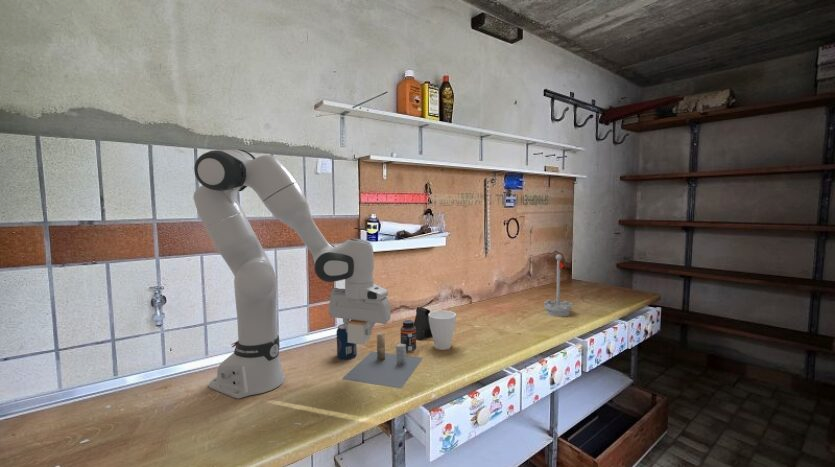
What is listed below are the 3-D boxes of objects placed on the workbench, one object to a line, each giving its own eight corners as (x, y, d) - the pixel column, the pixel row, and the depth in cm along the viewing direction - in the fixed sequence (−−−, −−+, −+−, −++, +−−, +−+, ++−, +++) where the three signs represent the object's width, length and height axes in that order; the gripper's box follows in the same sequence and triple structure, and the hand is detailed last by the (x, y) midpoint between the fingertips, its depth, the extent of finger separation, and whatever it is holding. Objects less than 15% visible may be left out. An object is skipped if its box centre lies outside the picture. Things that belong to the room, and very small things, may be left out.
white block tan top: (347, 342, 110) (347, 321, 110) (355, 336, 115) (355, 316, 115) (362, 344, 109) (362, 323, 108) (369, 338, 114) (370, 318, 113)
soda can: (335, 356, 130) (334, 324, 129) (354, 353, 132) (353, 321, 132) (339, 364, 123) (338, 330, 123) (358, 360, 126) (357, 327, 125)
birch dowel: (375, 360, 124) (375, 335, 123) (379, 356, 127) (378, 332, 126) (383, 361, 123) (382, 335, 122) (386, 357, 126) (385, 333, 125)
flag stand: (539, 310, 184) (540, 253, 182) (563, 309, 186) (564, 252, 184) (551, 317, 171) (552, 256, 169) (577, 316, 173) (578, 255, 171)
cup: (461, 350, 134) (461, 315, 133) (439, 356, 128) (438, 320, 127) (445, 341, 143) (445, 308, 142) (423, 347, 137) (423, 313, 136)
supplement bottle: (414, 354, 131) (414, 324, 130) (398, 353, 132) (398, 323, 131) (417, 347, 137) (417, 319, 136) (402, 346, 138) (402, 318, 137)
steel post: (396, 364, 121) (396, 346, 120) (399, 360, 123) (398, 343, 123) (403, 364, 120) (403, 347, 119) (406, 361, 122) (406, 344, 122)
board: (341, 382, 111) (341, 378, 111) (371, 354, 132) (371, 351, 131) (401, 391, 104) (401, 388, 104) (423, 360, 125) (423, 357, 125)
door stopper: (427, 331, 154) (427, 304, 154) (436, 335, 150) (435, 307, 149) (410, 336, 149) (410, 308, 148) (418, 340, 144) (418, 311, 143)
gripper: (324, 289, 111) (324, 332, 112) (385, 295, 105) (384, 341, 106) (335, 285, 117) (335, 326, 118) (392, 290, 111) (392, 334, 112)
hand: (358, 333), depth 112 cm, fingers closed on white block tan top, 5 cm apart
